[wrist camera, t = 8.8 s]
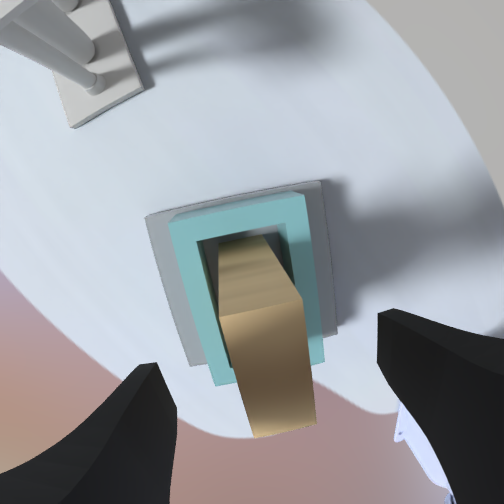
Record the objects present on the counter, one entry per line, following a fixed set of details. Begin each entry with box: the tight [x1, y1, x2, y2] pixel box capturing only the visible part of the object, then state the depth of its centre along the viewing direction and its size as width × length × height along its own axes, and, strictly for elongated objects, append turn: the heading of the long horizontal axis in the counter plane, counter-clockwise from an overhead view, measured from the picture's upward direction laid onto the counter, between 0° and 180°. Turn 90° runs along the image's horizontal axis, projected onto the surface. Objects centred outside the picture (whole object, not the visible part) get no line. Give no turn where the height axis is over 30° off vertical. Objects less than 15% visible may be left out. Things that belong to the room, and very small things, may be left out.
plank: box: [218, 234, 317, 438], centre depth 12 cm, size 5×2×8 cm, turn 11°
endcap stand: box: [145, 181, 338, 386], centre depth 15 cm, size 9×9×3 cm
